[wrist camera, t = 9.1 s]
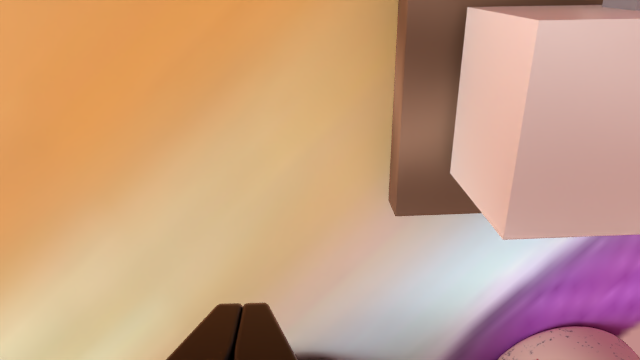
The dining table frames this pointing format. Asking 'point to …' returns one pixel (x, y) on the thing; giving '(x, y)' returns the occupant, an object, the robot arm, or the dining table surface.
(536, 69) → the pink rectangular block
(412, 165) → the gauge board
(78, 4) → the dining table surface
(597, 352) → the cream canister
